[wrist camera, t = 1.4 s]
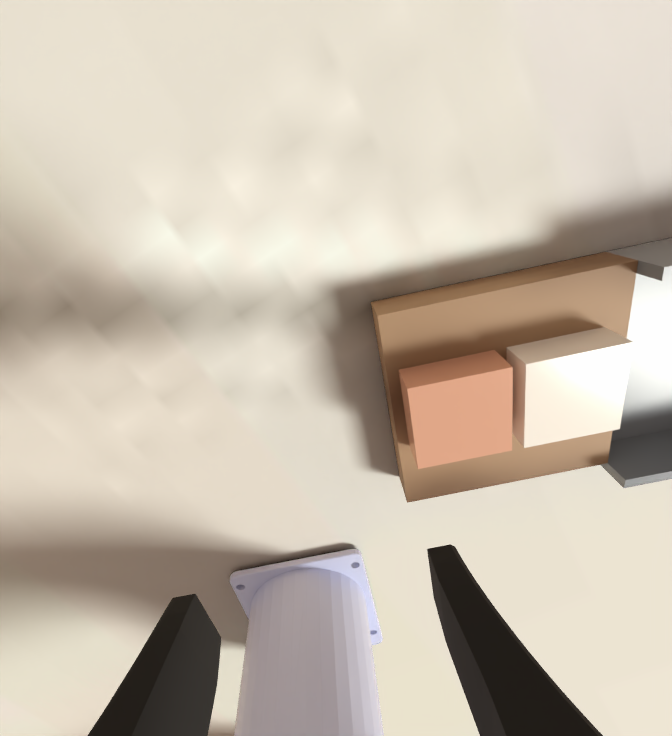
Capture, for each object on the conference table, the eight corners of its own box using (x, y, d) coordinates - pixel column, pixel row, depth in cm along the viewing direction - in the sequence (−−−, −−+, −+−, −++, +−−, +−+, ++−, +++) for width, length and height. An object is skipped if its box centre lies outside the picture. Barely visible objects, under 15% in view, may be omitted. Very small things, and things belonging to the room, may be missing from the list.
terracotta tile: (495, 428, 18) (512, 450, 16) (409, 445, 18) (418, 469, 16) (494, 349, 16) (512, 366, 15) (398, 369, 16) (407, 389, 15)
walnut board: (584, 440, 21) (607, 463, 19) (399, 477, 21) (407, 502, 20) (605, 251, 16) (638, 260, 15) (370, 302, 17) (377, 315, 15)
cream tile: (594, 408, 18) (619, 428, 16) (506, 426, 18) (524, 448, 16) (604, 327, 16) (633, 342, 14) (506, 347, 16) (526, 364, 15)
